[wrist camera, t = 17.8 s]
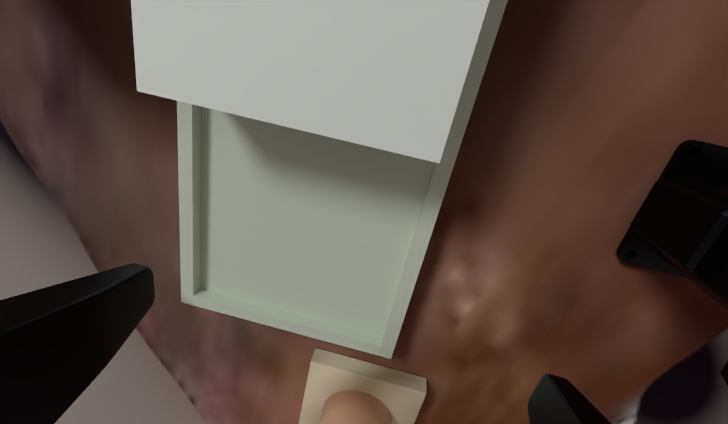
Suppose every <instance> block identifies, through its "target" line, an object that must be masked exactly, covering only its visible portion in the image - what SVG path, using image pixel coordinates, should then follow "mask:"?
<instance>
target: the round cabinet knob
mask: <svg viewBox="0 0 728 424" xmlns="http://www.w3.org/2000/svg"><path fill="white" fill-rule="evenodd" d="M391 421H392V418H391V414H390V411H389V409H388V408H387V406H386V405H385V404H384V403H383V402H382V401H380V400H379V399H378V398H376V397H374V396H372V395H370V394H368V393H365V392H361V391H353V390H348V391H341V392H337V393H335V394H333V395H331V396H330V397H329V398H328V399H327V400H326V401H325V403H324V406H323V409H322V413H321V416H320V420H319V423H318V424H391Z"/></svg>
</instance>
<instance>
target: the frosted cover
mask: <svg viewBox="0 0 728 424" xmlns="http://www.w3.org/2000/svg"><path fill="white" fill-rule="evenodd" d="M489 1H490V0H131V11H132V25H133V40H134V55H135V70H136V84H137V91H139V92H143V93H147V94H151V95H156V96H160V97H164V98H168V99H172V100H176V101H181V102H185V103H189V104H193V105H197V106H201V107H206V108H210V109H214V110H218V111H222V112H227V113H231V114H235V115H239V116H243V117H247V118H252V119H256V120H260V121H264V122H268V123H273V124H277V125H281V126H285V127H289V128H293V129H298V130H302V131H306V132H310V133H314V134H318V135H323V136H327V137H331V138H335V139H339V140H344V141H348V142H352V143H356V144H360V145H364V146H369V147H373V148H377V149H381V150H385V151H389V152H394V153H398V154H402V155H406V156H410V157H415V158H419V159H423V160H427V161H431V162H435V163H440V160H441V157H442V154H443V151H444V147H445V144H446V141H447V138H448V134H449V131H450V128H451V125H452V121H453V118H454V115H455V111H456V108H457V105H458V102H459V98H460V95H461V92H462V89H463V85H464V82H465V79H466V76H467V72H468V69H469V66H470V63H471V59H472V56H473V53H474V50H475V46H476V43H477V40H478V36H479V33H480V30H481V27H482V23H483V20H484V17H485V14H486V10H487V7H488V4H489Z"/></svg>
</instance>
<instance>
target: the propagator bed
mask: <svg viewBox="0 0 728 424" xmlns="http://www.w3.org/2000/svg"><path fill="white" fill-rule="evenodd" d="M507 1H508V0H490V1H489V4H488V7H487V10H486V14H485V17H484V20H483V23H482V27H481V30H480V33H479V36H478V40H477V43H476V46H475V50H474V53H473V56H472V59H471V63H470V66H469V69H468V72H467V76H466V79H465V82H464V85H463V89H462V92H461V95H460V98H459V102H458V105H457V108H456V111H455V115H454V118H453V121H452V125H451V128H450V131H449V134H448V138H447V141H446V144H445V147H444V151H443V154H442V157H441V160H440V163H435V162H431V161H427V160H423V159H419V158H415V157H410V156H406V155H402V154H398V153H394V152H389V151H385V150H381V149H377V148H373V147H369V146H364V145H360V144H356V143H352V142H348V141H344V140H339V139H335V138H331V137H327V136H323V135H318V134H314V133H310V132H306V131H302V130H298V129H293V128H289V127H285V126H281V125H277V124H273V123H268V122H264V121H260V120H256V119H252V118H247V117H243V116H239V115H235V114H231V113H227V112H222V111H218V110H214V109H210V108H206V107H201V106H197V105H193V104H189V103H185V102H181V101H177V127H178V173H179V218H180V264H181V302H183V303H187V304H190V305H194V306H198V307H201V308H205V309H209V310H212V311H216V312H220V313H223V314H227V315H231V316H234V317H238V318H242V319H245V320H249V321H253V322H257V323H260V324H264V325H268V326H271V327H275V328H279V329H282V330H286V331H290V332H293V333H297V334H301V335H304V336H308V337H312V338H315V339H319V340H323V341H326V342H330V343H334V344H338V345H341V346H345V347H349V348H352V349H356V350H360V351H363V352H367V353H371V354H374V355H378V356H382V357H385V358H389V359H391V357H392V354H393V351H394V348H395V345H396V342H397V339H398V336H399V333H400V330H401V327H402V324H403V321H404V317H405V314H406V311H407V308H408V305H409V302H410V299H411V296H412V293H413V290H414V287H415V284H416V281H417V278H418V274H419V271H420V268H421V265H422V262H423V259H424V256H425V253H426V250H427V247H428V244H429V241H430V238H431V235H432V231H433V228H434V225H435V222H436V219H437V216H438V213H439V210H440V207H441V204H442V201H443V198H444V195H445V192H446V188H447V185H448V182H449V179H450V176H451V173H452V170H453V167H454V164H455V161H456V158H457V155H458V152H459V149H460V145H461V142H462V139H463V136H464V133H465V130H466V127H467V124H468V121H469V118H470V115H471V112H472V109H473V106H474V102H475V99H476V96H477V93H478V90H479V87H480V84H481V81H482V78H483V75H484V72H485V69H486V66H487V63H488V60H489V56H490V53H491V50H492V47H493V44H494V41H495V38H496V35H497V32H498V29H499V26H500V23H501V20H502V17H503V13H504V10H505V7H506V4H507Z"/></svg>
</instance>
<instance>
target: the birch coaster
mask: <svg viewBox="0 0 728 424" xmlns="http://www.w3.org/2000/svg"><path fill="white" fill-rule="evenodd" d="M348 390H353V391H361V392H365V393H368V394H370V395H372V396H374V397H376V398H378V399H379V400H380V401H382V402H383V403H384V404H385V405H386V406H387V408H388V409H389V411H390V414H391V418H392V421H391V424H414V423H415V420H416V418H417V415H418V413H419V410H420V408H421V406H422V403H423V401H424V398H425V396H426V393H427V391H426V378H424V377H420V376H416V375H413V374H409V373H405V372H402V371H398V370H394V369H391V368H387V367H383V366H380V365H376V364H372V363H369V362H365V361H361V360H358V359H354V358H350V357H347V356H343V355H339V354H336V353H332V352H328V351H325V350H321V349H317V348H316V349H315V351H314V354H313V357H312V360H311V363H310V369H309V374H308V379H307V384H306V389H305V394H304V400H303V405H302V410H301V415H300V420H299V424H318V423H319V420H320V416H321V413H322V409H323V406H324V403H325V401H326V400H327V399H328V398H329V397H330V396H331V395H333V394H335V393H337V392H341V391H348Z"/></svg>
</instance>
